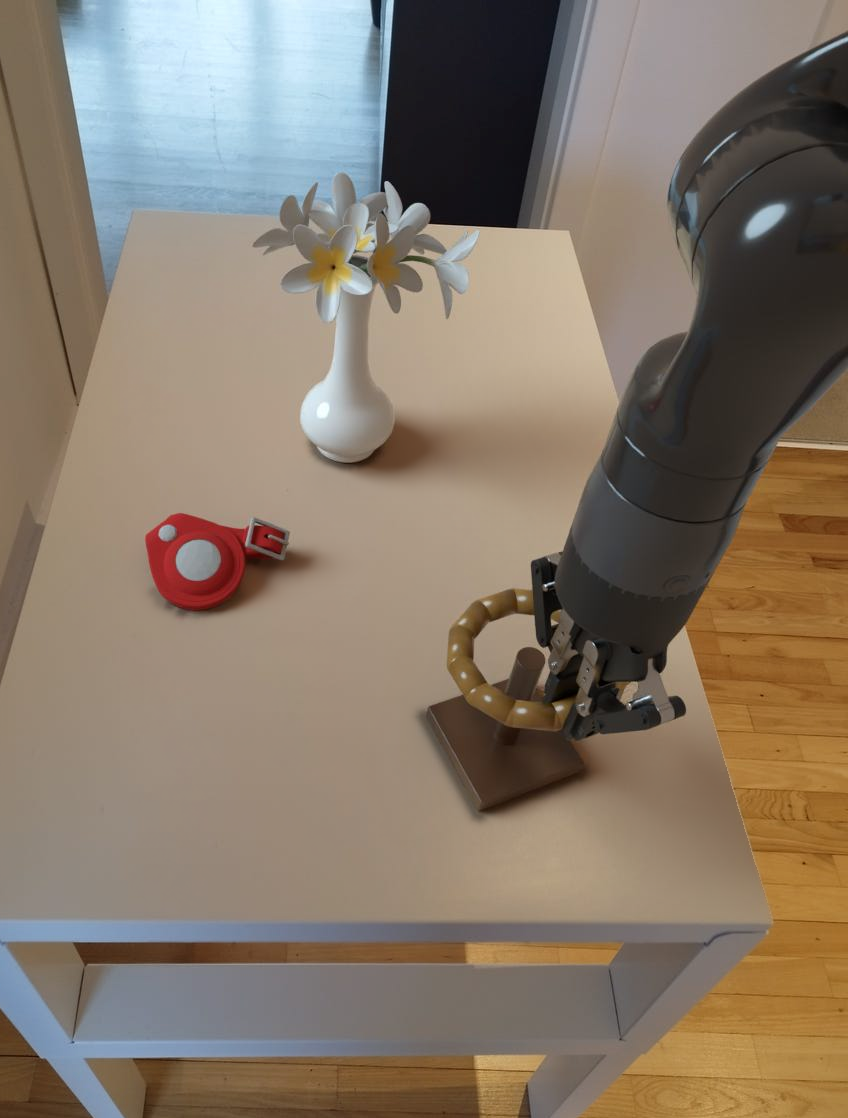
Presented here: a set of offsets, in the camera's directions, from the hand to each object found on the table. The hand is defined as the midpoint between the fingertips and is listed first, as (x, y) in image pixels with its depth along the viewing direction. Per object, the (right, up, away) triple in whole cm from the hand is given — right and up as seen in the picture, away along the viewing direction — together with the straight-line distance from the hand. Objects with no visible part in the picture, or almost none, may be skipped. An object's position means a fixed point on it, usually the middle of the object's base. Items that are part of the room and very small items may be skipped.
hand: (566, 717), depth 60 cm
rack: (-3, -3, +11) cm, 12 cm away
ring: (-2, +4, +2) cm, 5 cm away
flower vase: (-15, +25, +32) cm, 44 cm away
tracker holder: (-26, +11, +21) cm, 35 cm away
